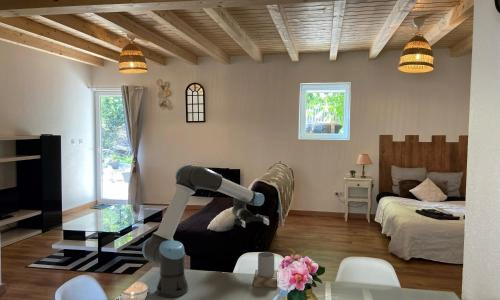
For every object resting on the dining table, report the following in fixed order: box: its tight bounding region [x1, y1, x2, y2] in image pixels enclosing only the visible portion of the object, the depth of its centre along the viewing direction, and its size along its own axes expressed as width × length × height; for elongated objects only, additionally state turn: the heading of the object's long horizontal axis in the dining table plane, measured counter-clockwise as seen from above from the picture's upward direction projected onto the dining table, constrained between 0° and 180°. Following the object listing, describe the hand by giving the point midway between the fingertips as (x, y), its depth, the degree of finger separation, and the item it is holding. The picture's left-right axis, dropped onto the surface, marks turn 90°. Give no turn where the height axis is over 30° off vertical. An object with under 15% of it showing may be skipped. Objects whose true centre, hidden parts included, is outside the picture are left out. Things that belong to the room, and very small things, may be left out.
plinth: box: [253, 269, 279, 288], centre depth 191 cm, size 12×12×4 cm
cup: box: [257, 251, 275, 277], centre depth 191 cm, size 8×8×10 cm
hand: (256, 223), depth 199 cm, fingers open, 13 cm apart
